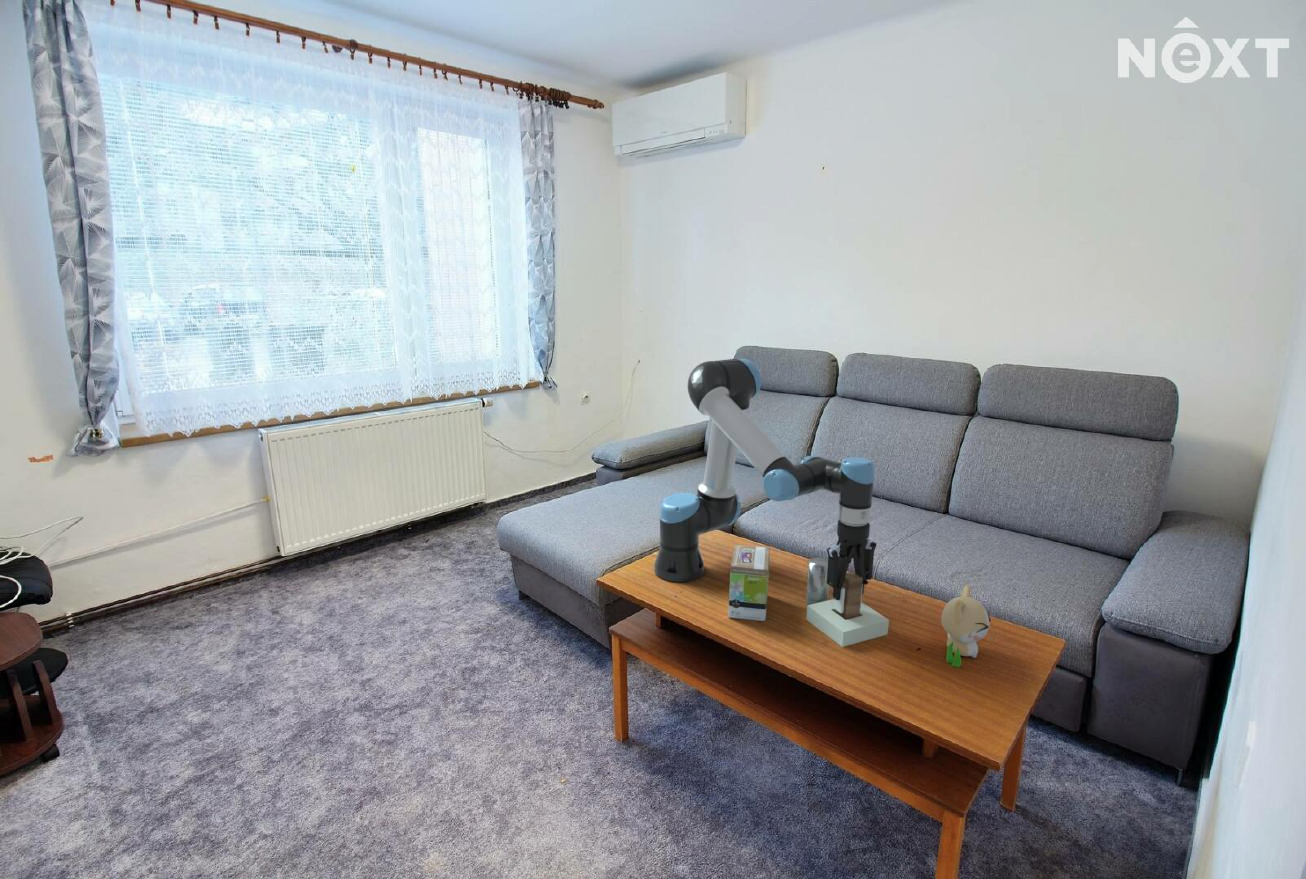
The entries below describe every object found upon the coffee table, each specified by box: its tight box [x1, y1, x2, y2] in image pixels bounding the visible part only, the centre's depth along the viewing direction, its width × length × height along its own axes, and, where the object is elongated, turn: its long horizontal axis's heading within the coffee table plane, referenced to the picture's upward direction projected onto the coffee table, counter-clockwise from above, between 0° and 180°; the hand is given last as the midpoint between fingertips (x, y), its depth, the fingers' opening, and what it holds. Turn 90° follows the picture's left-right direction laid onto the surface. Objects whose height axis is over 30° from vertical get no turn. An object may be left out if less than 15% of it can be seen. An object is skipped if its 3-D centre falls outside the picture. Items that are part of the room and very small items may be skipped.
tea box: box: [728, 544, 771, 622], centre depth 165 cm, size 15×10×15 cm
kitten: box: [940, 584, 992, 668], centre depth 143 cm, size 15×10×15 cm, turn 143°
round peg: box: [805, 557, 830, 605], centre depth 167 cm, size 6×6×12 cm
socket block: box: [805, 598, 890, 648], centre depth 156 cm, size 14×14×4 cm
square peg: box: [836, 571, 863, 620], centre depth 154 cm, size 4×4×14 cm
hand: (847, 607), depth 155 cm, fingers open, 5 cm apart
